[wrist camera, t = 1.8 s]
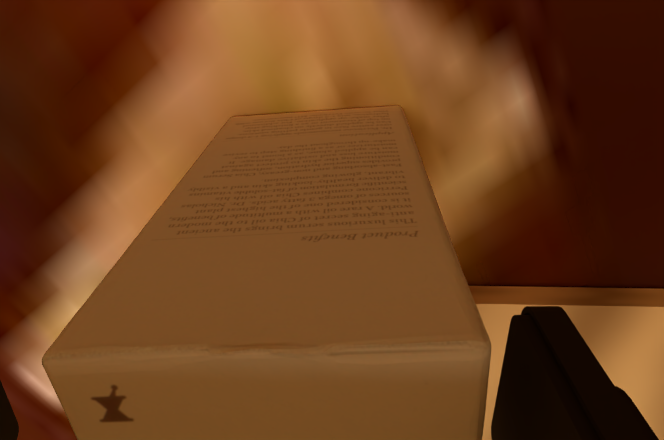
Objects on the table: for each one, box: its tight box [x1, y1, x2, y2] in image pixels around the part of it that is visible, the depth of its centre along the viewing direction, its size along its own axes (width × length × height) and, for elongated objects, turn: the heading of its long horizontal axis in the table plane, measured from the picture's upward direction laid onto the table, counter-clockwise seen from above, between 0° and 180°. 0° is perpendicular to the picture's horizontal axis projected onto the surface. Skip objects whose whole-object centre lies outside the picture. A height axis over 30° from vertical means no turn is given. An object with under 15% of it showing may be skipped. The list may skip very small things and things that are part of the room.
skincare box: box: [42, 105, 491, 440], centre depth 13 cm, size 6×4×12 cm
